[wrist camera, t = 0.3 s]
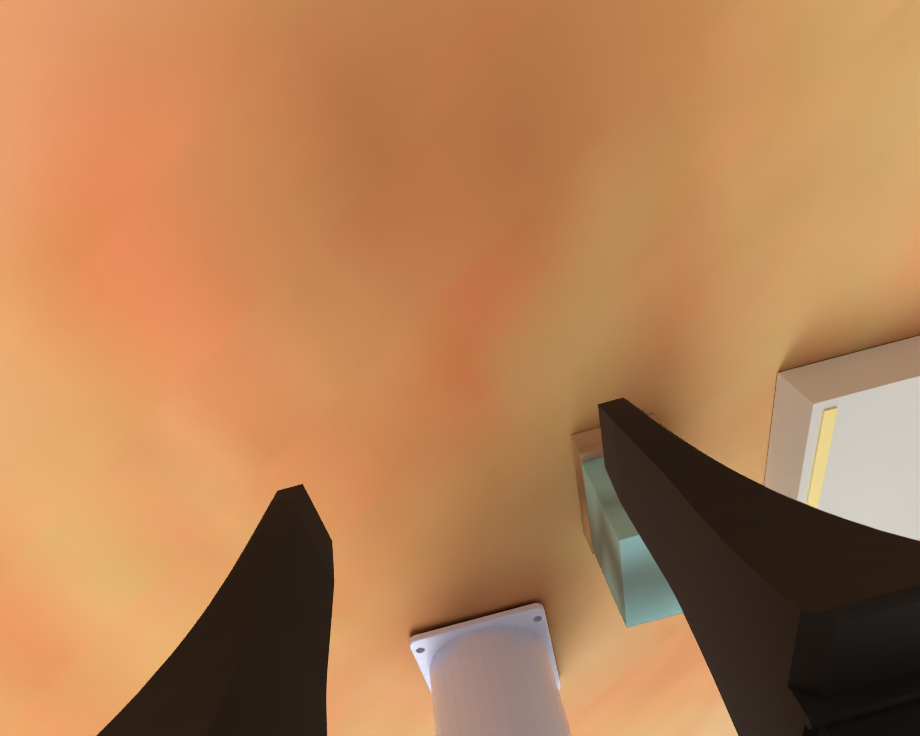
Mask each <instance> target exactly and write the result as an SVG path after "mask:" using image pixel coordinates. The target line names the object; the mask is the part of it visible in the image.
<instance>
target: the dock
mask: <svg viewBox="0 0 920 736" xmlns="http://www.w3.org/2000/svg"><path fill="white" fill-rule="evenodd" d="M764 486H765V487H767V488H769V489H771V490H774V491H776V492H778V493H780V494H783V495H785V496H787V497H790V498H792V499H794V500H797V501H799V502H802V503H804V504H807V505H809V506H812V507H814V508H817V509H819V510H822V511H825V512H828V513H830V514H833V515H836V516H839V517H841V518H844V519H847V520H850V521H853V522H856V523H860V524H863V525H866V526H869V527H872V528H875V529H878V530H881V531H885V532H888V533H892V534H896V535H900V536H903V537H907V538H911V539H914V540H920V335H919V336H916V337H912V338H908V339H904V340H900V341H897V342H893V343H889V344H885V345H881V346H878V347H874V348H870V349H866V350H862V351H859V352H855V353H851V354H847V355H844V356H840V357H836V358H832V359H828V360H825V361H821V362H817V363H813V364H809V365H806V366H802V367H798V368H794V369H790V370H787V371H783V372H779V373H778V374H777V382H776V391H775V399H774V407H773V415H772V424H771V432H770V440H769V449H768V457H767V465H766V474H765V482H764Z"/></svg>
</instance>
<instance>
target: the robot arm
mask: <svg viewBox="0 0 920 736" xmlns="http://www.w3.org/2000/svg"><path fill="white" fill-rule="evenodd" d="M598 409H599V418H600V427H601V436H602V446H603V455H604V464H605V469H606V471H607V473H608V476H609V478H610V480H611V483H612V485H613V487H614V490H615V492H616V494H617V496H618V498H619V501H620V503H621V505H622V506H623V508H624V510H625V512H626V513H627V515H628V517H629V518H630V520H631V522H632V524H633V525H634V527H635V529H636V530H637V532H638V534H639V535H640V537H641V539H642V540H643V542H644V544H645V545H646V547H647V549H648V550H649V552H650V554H651V555H652V557H653V559H654V560H655V562H656V564H657V565H658V567H659V569H660V570H661V572H662V574H663V575H664V577H665V579H666V580H667V582H668V584H669V586H670V588H671V589H672V591H673V593H674V595H675V597H676V599H677V601H678V603H679V605H680V607H681V609H682V611H683V613H684V615H685V617H686V620H687V622H688V624H689V626H690V628H691V630H692V632H693V634H694V637H695V639H696V641H697V643H698V645H699V647H700V650H701V652H702V654H703V656H704V658H705V661H706V663H707V665H708V667H709V669H710V672H711V674H712V676H713V678H714V680H715V683H716V685H717V687H718V690H719V692H720V694H721V696H722V699H723V701H724V703H725V706H726V708H727V710H728V713H729V715H730V717H731V719H732V722H733V724H734V726H735V729H736V731H737V733H738V736H920V541H918V540H914V539H911V538H907V537H903V536H900V535H896V534H892V533H888V532H885V531H881V530H878V529H875V528H872V527H869V526H866V525H863V524H860V523H856V522H853V521H850V520H847V519H844V518H841V517H839V516H836V515H833V514H830V513H828V512H825V511H822V510H819V509H817V508H814V507H812V506H809V505H807V504H804V503H802V502H799V501H797V500H794V499H792V498H790V497H787V496H785V495H783V494H780V493H778V492H776V491H774V490H771V489H769V488H767V487H765V486H763V485H761V484H759V483H757V482H755V481H753V480H751V479H749V478H747V477H745V476H743V475H741V474H739V473H737V472H735V471H733V470H732V469H730V468H728V467H726V466H724V465H723V464H721V463H719V462H718V461H716V460H714V459H712V458H711V457H709V456H707V455H706V454H704V453H703V452H701V451H699V450H698V449H696V448H695V447H693V446H692V445H690V444H688V443H687V442H685V441H684V440H682V439H681V438H679V437H678V436H676V435H675V434H673V433H672V432H670V431H669V430H667V429H666V428H665V427H663V426H662V425H660V424H659V423H658V422H656V421H655V420H653V419H652V418H651V417H649V416H648V415H647V414H645V413H644V412H642V411H641V410H640V409H638V408H637V407H636V406H634V405H633V404H632V403H630V402H629V401H628V400H626V399H624V398H620V399H616V400H613V401H609V402H605V403H602V404H598ZM333 591H334V565H333V548H332V540H331V538H330V536H329V534H328V532H327V530H326V528H325V526H324V524H323V522H322V521H321V519H320V517H319V515H318V513H317V511H316V509H315V507H314V505H313V503H312V501H311V499H310V497H309V495H308V493H307V492H306V490H305V488H304V486H303V484H301V485H297V486H294V487H290V488H286V489H282V490H279V491H277V493H276V494H275V496H274V498H273V500H272V501H271V503H270V505H269V506H268V508H267V510H266V512H265V514H264V515H263V517H262V519H261V521H260V522H259V524H258V526H257V528H256V530H255V531H254V533H253V535H252V537H251V538H250V540H249V542H248V544H247V545H246V547H245V549H244V550H243V552H242V554H241V555H240V557H239V559H238V560H237V562H236V564H235V565H234V567H233V569H232V570H231V572H230V574H229V575H228V577H227V578H226V580H225V581H224V583H223V584H222V586H221V587H220V589H219V591H218V592H217V594H216V595H215V597H214V598H213V600H212V601H211V603H210V604H209V606H208V607H207V609H206V610H205V611H204V613H203V614H202V616H201V617H200V618H199V620H198V621H197V622H196V624H195V625H194V626H193V628H192V629H191V630H190V632H189V633H188V634H187V635H186V637H185V638H184V639H183V641H182V642H181V643H180V645H179V646H178V647H177V648H176V650H175V651H174V652H173V653H172V654H171V656H170V657H169V658H168V659H167V660H166V661H165V663H164V664H163V665H162V666H161V667H160V668H159V669H158V671H157V672H156V673H155V674H154V675H153V676H152V678H151V679H150V680H149V681H148V682H147V683H146V684H145V686H144V687H143V688H142V689H141V690H140V691H139V692H138V694H137V695H136V696H135V697H134V698H133V699H132V700H131V701H130V702H129V703H128V704H127V705H126V706H125V707H124V708H123V709H122V710H121V712H120V713H119V714H118V715H117V716H116V717H115V718H114V719H113V720H112V721H111V722H110V723H109V724H108V725H107V726H106V727H105V728H104V729H103V730H102V731H101V732H100V733H99V734H98V735H97V736H327V716H326V685H327V667H328V655H329V642H330V630H331V618H332V605H333ZM409 645H410V649H411V651H412V653H413V655H414V657H415V659H416V662H417V664H418V666H419V668H420V670H421V672H422V674H423V677H424V679H425V681H426V683H427V685H428V687H429V689H430V692H431V694H432V702H433V711H434V721H435V730H436V736H572V735H571V732H570V728H569V725H568V721H567V718H566V715H565V711H564V708H563V704H562V701H561V697H560V694H559V691H558V690H559V689H560V688H561V684H560V679H559V675H558V670H557V666H556V661H555V656H554V652H553V647H552V643H551V638H550V633H549V629H548V624H547V620H546V615H545V611H544V607H543V605H542V604H540V603H533V604H529V605H526V606H522V607H518V608H514V609H511V610H507V611H503V612H499V613H496V614H492V615H488V616H484V617H481V618H477V619H473V620H469V621H466V622H462V623H458V624H454V625H451V626H447V627H443V628H439V629H436V630H432V631H428V632H424V633H421V634H417V635H414V636H412V637H411V638H410V639H409Z"/></svg>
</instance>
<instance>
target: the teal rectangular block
mask: <svg viewBox="0 0 920 736" xmlns="http://www.w3.org/2000/svg"><path fill="white" fill-rule="evenodd" d="M648 416H649V417H651V418H652V419H653V420H655V421H656V422H658V423H659V424H660V422H659V421H658V420H657V418H656V417H655V415H654V414H653V413H652V414H648ZM660 425H661V424H660ZM571 441H572V448H573V456H574V463H575V470H576V478H577V485H578V492H579V500H580V507H581V515H582V522H583V529H584V534H585V536H586V539H587V541H588V543H589V546H590V548H591V550H592V553H593V554H595V555H596V558H597V560H598V562H599V565H600V567H601V569H602V572H603V574H604V576H605V579H606V581H607V583H608V586H609V588H610V590H611V593H612V595H613V597H614V600H615V602H616V604H617V607H618V609H619V611H620V614H621V616H622V618H623V621H624V623H625V625H626V628H628V627H631V626H635V625H639V624H643V623H646V622H650V621H654V620H658V619H661V618H665V617H669V616H673V615H676V614H680V613H683V611H682V609H681V607H680V605H679V603H678V601H677V599H676V597H675V595H674V593H673V591H672V589H671V588H670V586H669V584H668V582H667V580H666V579H665V577H664V575H663V574H662V572H661V570H660V569H659V567H658V565H657V564H656V562H655V560H654V559H653V557H652V555H651V554H650V552H649V550H648V549H647V547H646V545H645V544H644V542H643V540H642V539H641V537H640V535H639V534H638V532H637V530H636V529H635V527H634V525H633V524H632V522H631V520H630V518H629V517H628V515H627V513H626V512H625V510H624V508H623V506H622V505H621V503H620V501H619V498H618V496H617V494H616V492H615V490H614V487H613V485H612V483H611V480H610V478H609V476H608V473H607V471H606V469H605V464H604V455H603V446H602V436H601V427H599V428H595V429H592V430H588V431H584V432H580V433H577V434H573V435H571Z"/></svg>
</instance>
